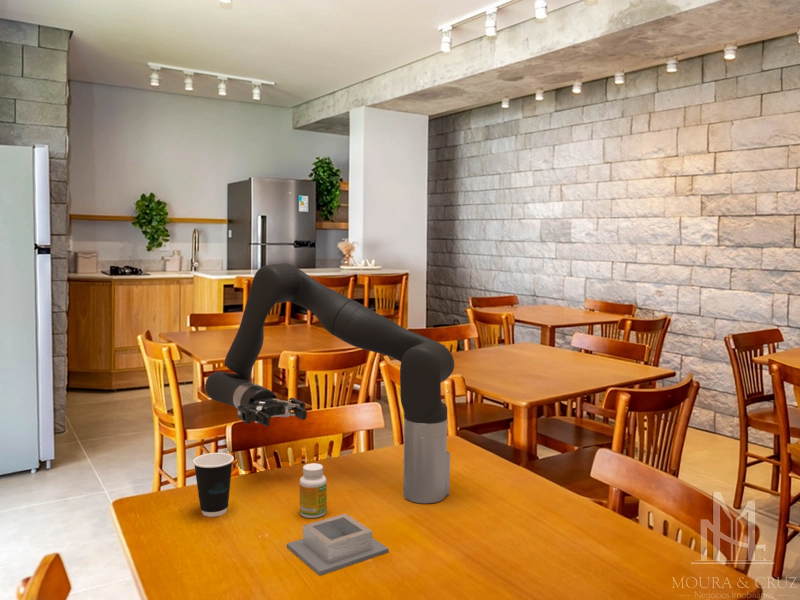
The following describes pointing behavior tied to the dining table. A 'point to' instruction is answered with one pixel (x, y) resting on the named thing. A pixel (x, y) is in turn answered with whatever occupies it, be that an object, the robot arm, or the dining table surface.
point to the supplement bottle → (313, 491)
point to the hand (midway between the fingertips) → (286, 418)
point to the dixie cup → (213, 482)
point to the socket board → (335, 544)
